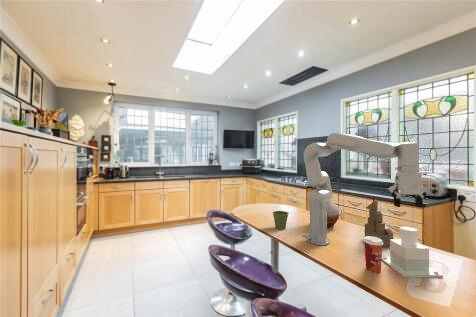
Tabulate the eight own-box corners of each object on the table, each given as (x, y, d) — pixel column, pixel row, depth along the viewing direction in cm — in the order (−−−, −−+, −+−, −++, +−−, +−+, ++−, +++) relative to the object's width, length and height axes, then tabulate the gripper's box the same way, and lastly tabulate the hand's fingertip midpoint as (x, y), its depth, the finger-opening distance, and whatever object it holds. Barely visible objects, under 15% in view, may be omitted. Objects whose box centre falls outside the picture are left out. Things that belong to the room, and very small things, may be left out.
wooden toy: (394, 245, 121) (393, 202, 121) (385, 247, 119) (385, 203, 119) (370, 236, 136) (370, 197, 136) (362, 237, 134) (361, 198, 134)
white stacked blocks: (403, 277, 90) (403, 251, 90) (380, 258, 106) (379, 237, 106) (442, 277, 89) (442, 251, 89) (413, 259, 105) (412, 237, 105)
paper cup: (376, 275, 91) (376, 243, 91) (359, 267, 98) (359, 237, 98) (387, 271, 94) (387, 240, 94) (370, 263, 101) (370, 234, 101)
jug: (307, 225, 160) (306, 185, 159) (318, 220, 172) (318, 183, 171) (333, 231, 145) (332, 187, 145) (343, 225, 157) (343, 185, 157)
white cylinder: (395, 241, 101) (395, 226, 101) (408, 240, 102) (408, 225, 101) (408, 247, 94) (408, 231, 94) (422, 246, 95) (422, 230, 95)
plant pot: (285, 232, 146) (285, 215, 145) (269, 229, 152) (269, 213, 152) (291, 227, 156) (291, 211, 155) (276, 224, 162) (275, 209, 162)
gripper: (394, 170, 94) (394, 208, 94) (434, 169, 93) (434, 208, 93) (383, 169, 102) (383, 204, 102) (420, 168, 101) (420, 204, 101)
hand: (407, 206), depth 98 cm, fingers open, 9 cm apart
